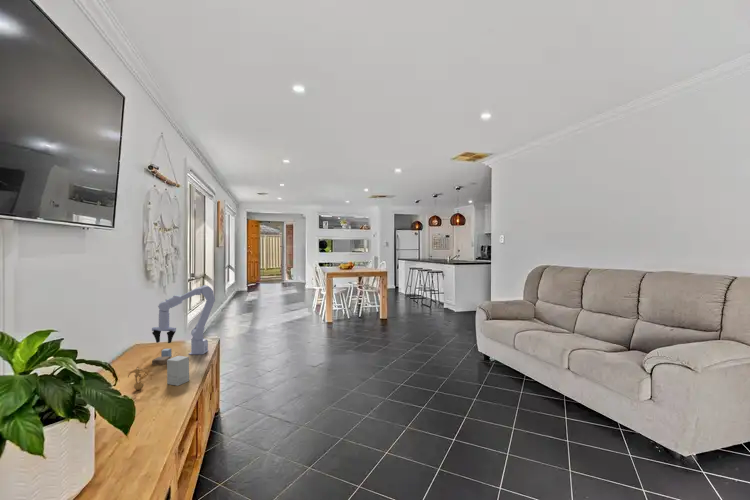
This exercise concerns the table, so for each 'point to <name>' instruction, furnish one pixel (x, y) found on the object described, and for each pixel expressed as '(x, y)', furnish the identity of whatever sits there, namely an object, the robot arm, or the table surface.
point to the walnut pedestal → (160, 360)
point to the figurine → (139, 384)
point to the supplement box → (177, 370)
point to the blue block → (166, 353)
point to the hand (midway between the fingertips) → (163, 342)
